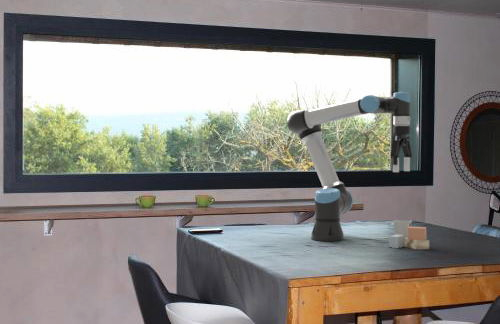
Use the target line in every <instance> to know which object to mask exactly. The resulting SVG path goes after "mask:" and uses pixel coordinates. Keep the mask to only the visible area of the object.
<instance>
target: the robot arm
mask: <svg viewBox="0 0 500 324" xmlns="http://www.w3.org/2000/svg"><path fill="white" fill-rule="evenodd" d="M410 96H411V95H410V93H409V92H407V91H405V92H404V91H398V92H394V93H393V95H392V96H387V97H386V96H382V97H381V96H376V95H372V94H369V95H368V94H367V95H365V96H363V97H360V98H356V99H352V100H351V99H350V100H347V101H344V102H339V103H335V104H330V105H326V106H322V107H318V108H314V109H313V108H312V109H309V108H304V109H297V110H294V111H291V112H290V113H289V114H288V116H287V118H286V126H287V128H288V130H289V131H290V132H291V133H293V134H295V135H297V136H298V138H299V140H300V142H301V143H304V144H305V147H306V149H307V151H308V155H309V157H310V159H311V161H312V164H313V166H314V169H315V171H316V174H317V176H318V179H319V181H320V183H321V186H322V188H320V189H317V190H316V191H315V195H314V225H313V228H312V231H311V233H310V234H311V238H310V239H311V240H314V241H320V242H321V241H323V242H337V241H338V242H339V241H342V240H345V236H344V231H343V227H342V225H341V215H342V214H346V213H348V212H349V211H350V210H351V209H352V207H353V205H354V197H353V194H352V193H351V191H349V190H347V189H346V186H345V183H344V182H342V181H340V180H339V179H340V178H339V177H338V174H337V171H336V170H335V167H334V165H333V162H332V160H331V158H330V155H329V152H328V150H327V147H326V145H325V143H324V140H323V138H322V134H323V130H322V125H323V124H327V123H331V122H335V121H341V120H344V119H349V118H354V117H359V116H362V115H367V114H374V115H377V114H393V116H392V118H393V119H392V124H393V129H392V130H393V132H392V134H393V141H392V146H391V151H390V158H392V173H400V157H399V155H400V152H401V149H402V152H403V156H404V157H403V172H411V158H412V157H413V153H412V149H411V143H410V136H407V135H410V133H411V127H410V125H411V120H412V119H411V97H410Z"/></svg>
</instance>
